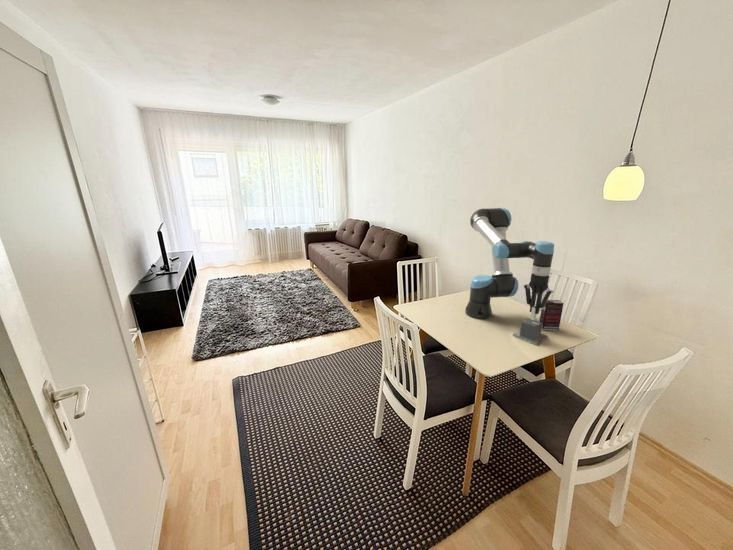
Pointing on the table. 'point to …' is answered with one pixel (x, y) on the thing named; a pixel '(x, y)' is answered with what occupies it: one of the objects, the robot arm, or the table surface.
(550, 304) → the supplement box
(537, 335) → the grey cube
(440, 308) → the table surface
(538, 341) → the hub
